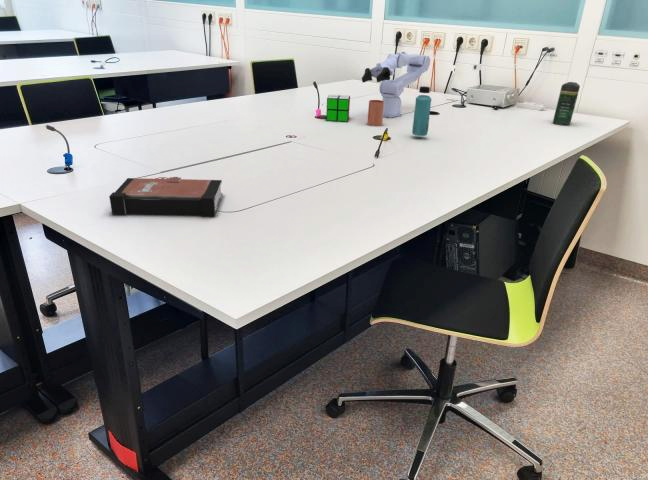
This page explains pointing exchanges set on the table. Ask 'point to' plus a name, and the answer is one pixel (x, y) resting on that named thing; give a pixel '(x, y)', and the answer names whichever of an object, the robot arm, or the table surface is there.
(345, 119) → the puzzle cube
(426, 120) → the beverage bottle
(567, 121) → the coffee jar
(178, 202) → the book
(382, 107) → the cup
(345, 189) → the table surface
